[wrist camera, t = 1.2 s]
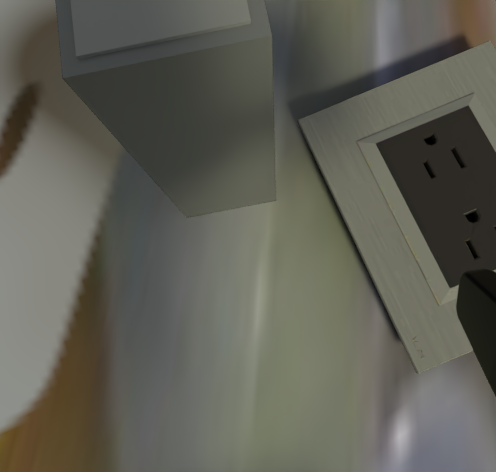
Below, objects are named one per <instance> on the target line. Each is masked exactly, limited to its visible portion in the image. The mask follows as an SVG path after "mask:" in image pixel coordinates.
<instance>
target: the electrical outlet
mask: <svg viewBox="0 0 496 472" xmlns="http://www.w3.org/2000/svg"><path fill="white" fill-rule="evenodd" d="M298 124H299V126H300V128H301V130H302V132H303V134H304V137H305V139H306V141H307V143H308V145H309V147H310V149H311V151H312V153H313V156H314V158H315V160H316V162H317V164H318V166H319V168H320V170H321V173H322V175H323V177H324V179H325V181H326V183H327V185H328V187H329V189H330V192H331V194H332V196H333V198H334V200H335V202H336V204H337V206H338V208H339V211H340V213H341V215H342V217H343V219H344V221H345V223H346V225H347V227H348V230H349V232H350V234H351V236H352V238H353V240H354V242H355V244H356V247H357V249H358V251H359V253H360V255H361V257H362V259H363V261H364V263H365V266H366V268H367V270H368V272H369V274H370V276H371V278H372V280H373V282H374V285H375V287H376V289H377V291H378V293H379V295H380V297H381V299H382V301H383V304H384V306H385V308H386V310H387V312H388V314H389V316H390V318H391V321H392V323H393V325H394V327H395V329H396V331H397V333H398V335H399V337H400V340H401V342H402V344H403V346H404V348H405V350H406V352H407V354H408V356H409V359H410V361H411V363H412V365H413V367H414V369H415V371H416V373H418V374H419V373H421V372H423V371H426V370H428V369H431V368H433V367H435V366H438V365H440V364H442V363H445V362H447V361H450V360H452V359H454V358H457V357H459V356H462V355H464V354H466V353H469V352H471V351H473V348H472V346H471V344H470V342H469V340H468V338H467V336H466V334H465V331H464V329H463V327H462V325H461V323H460V321H459V319H458V316H457V311H456V302H457V295H458V287H459V279H460V276H461V274H462V273H464V272H466V271H471V270H476V269H482V268H486V269H490V270H492V271H494V272H496V49H495V47H494V46H493V44H492V42H491V41H488V42H486V43H483V44H481V45H478V46H476V47H473V48H471V49H469V50H466V51H464V52H461V53H459V54H456V55H454V56H452V57H449V58H447V59H444V60H442V61H439V62H437V63H435V64H432V65H430V66H427V67H425V68H422V69H420V70H418V71H415V72H413V73H410V74H408V75H405V76H403V77H401V78H398V79H396V80H393V81H391V82H388V83H386V84H384V85H381V86H379V87H376V88H374V89H371V90H369V91H367V92H364V93H362V94H359V95H357V96H354V97H352V98H349V99H347V100H345V101H342V102H340V103H337V104H335V105H332V106H330V107H328V108H325V109H323V110H320V111H318V112H315V113H313V114H311V115H308V116H306V117H303V118H301V119H298Z"/></svg>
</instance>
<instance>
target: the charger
mask: <svg viewBox="0 0 496 472" xmlns="http://www.w3.org/2000/svg"><path fill="white" fill-rule="evenodd" d="M56 10H57V22H58V32H59V43H60V54H61V66H62V77H63V79H64V80H65V82H66V83H67V84H68V85H69V86H70V87H71V88H72V89H73V90H74V92H75V93H76V94H77V95H78V96H79V97H80V98H81V99H82V101H83V102H84V103H85V104H86V105H87V106H88V107H89V108H90V109H91V111H92V112H93V113H94V114H95V115H96V116H97V117H98V119H99V120H100V121H101V122H102V123H103V124H104V125H105V126H106V127H107V129H108V130H109V131H110V132H111V133H112V134H113V135H114V137H115V138H116V139H117V140H118V141H119V142H120V143H121V144H122V145H123V147H124V148H125V149H126V150H127V151H128V152H129V153H130V154H131V156H132V157H133V158H134V159H135V160H136V161H137V162H138V163H139V165H140V166H141V167H142V168H143V169H144V170H145V171H146V172H147V174H148V175H149V176H150V177H151V178H152V179H153V180H154V181H155V183H156V184H157V185H158V186H159V187H160V188H161V189H162V190H163V191H164V193H165V194H166V195H167V196H168V197H169V198H170V199H171V200H172V202H173V203H174V204H175V205H176V206H177V207H178V208H179V209H180V211H181V212H182V213H183V214H184V215H185V216H186V217H192V216H198V215H203V214H208V213H213V212H219V211H224V210H229V209H234V208H240V207H245V206H250V205H256V204H261V203H266V202H271V201H276V180H275V138H274V96H273V55H272V33H271V28H270V24H269V19H268V14H267V10H266V5H265V0H56Z"/></svg>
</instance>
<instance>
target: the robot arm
mask: <svg viewBox="0 0 496 472" xmlns="http://www.w3.org/2000/svg"><path fill="white" fill-rule="evenodd" d="M456 311H457V316H458V319H459V321H460V323H461V325H462V327H463V329H464V331H465V334H466V336H467V338H468V340H469V342H470V344H471V346H472V348H473V351H474V353H475V355H476V357H477V359H478V361H479V363H480V365H481V367H482V370H483V372H484V374H485V376H486V378H487V380H488V382H489V384H490V386H491V388H492V390H493V392H494V394H495V396H496V272H494V271H492V270H490V269H486V268H482V269H476V270H471V271H466V272H464V273H462V274H461V276H460V279H459V287H458V295H457V302H456Z"/></svg>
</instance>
